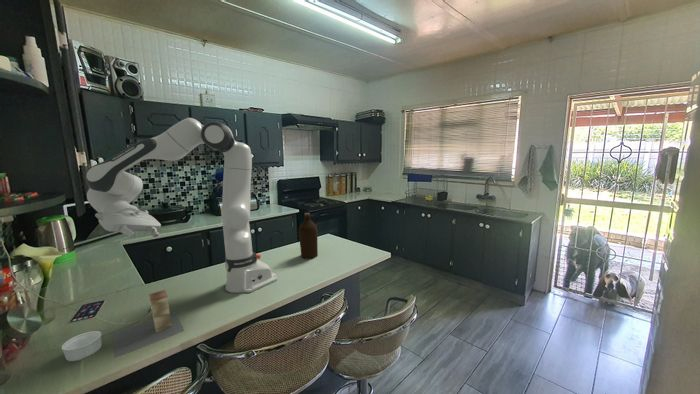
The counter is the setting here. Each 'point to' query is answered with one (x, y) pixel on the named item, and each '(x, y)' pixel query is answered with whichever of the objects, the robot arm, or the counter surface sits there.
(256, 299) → the counter surface
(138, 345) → the rubber mat
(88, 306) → the smartphone
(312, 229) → the olive oil
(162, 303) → the birch block
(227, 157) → the robot arm
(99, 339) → the ramekin
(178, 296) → the counter surface
